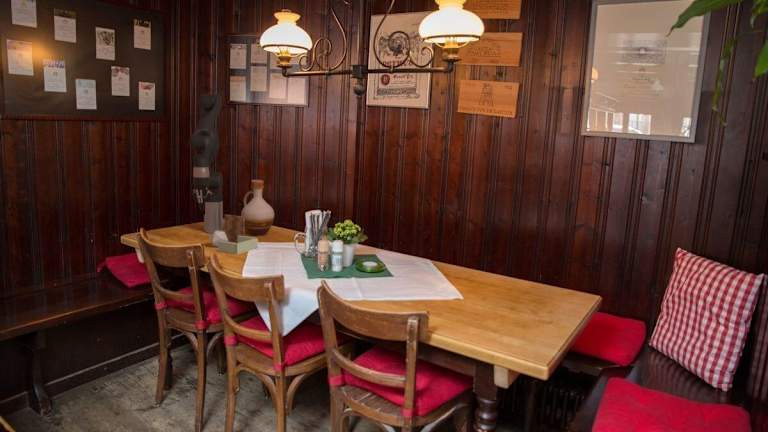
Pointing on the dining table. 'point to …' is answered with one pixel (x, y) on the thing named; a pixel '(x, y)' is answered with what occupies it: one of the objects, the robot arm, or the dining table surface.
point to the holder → (238, 245)
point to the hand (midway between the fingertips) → (202, 210)
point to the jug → (257, 211)
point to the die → (218, 238)
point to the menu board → (234, 227)
